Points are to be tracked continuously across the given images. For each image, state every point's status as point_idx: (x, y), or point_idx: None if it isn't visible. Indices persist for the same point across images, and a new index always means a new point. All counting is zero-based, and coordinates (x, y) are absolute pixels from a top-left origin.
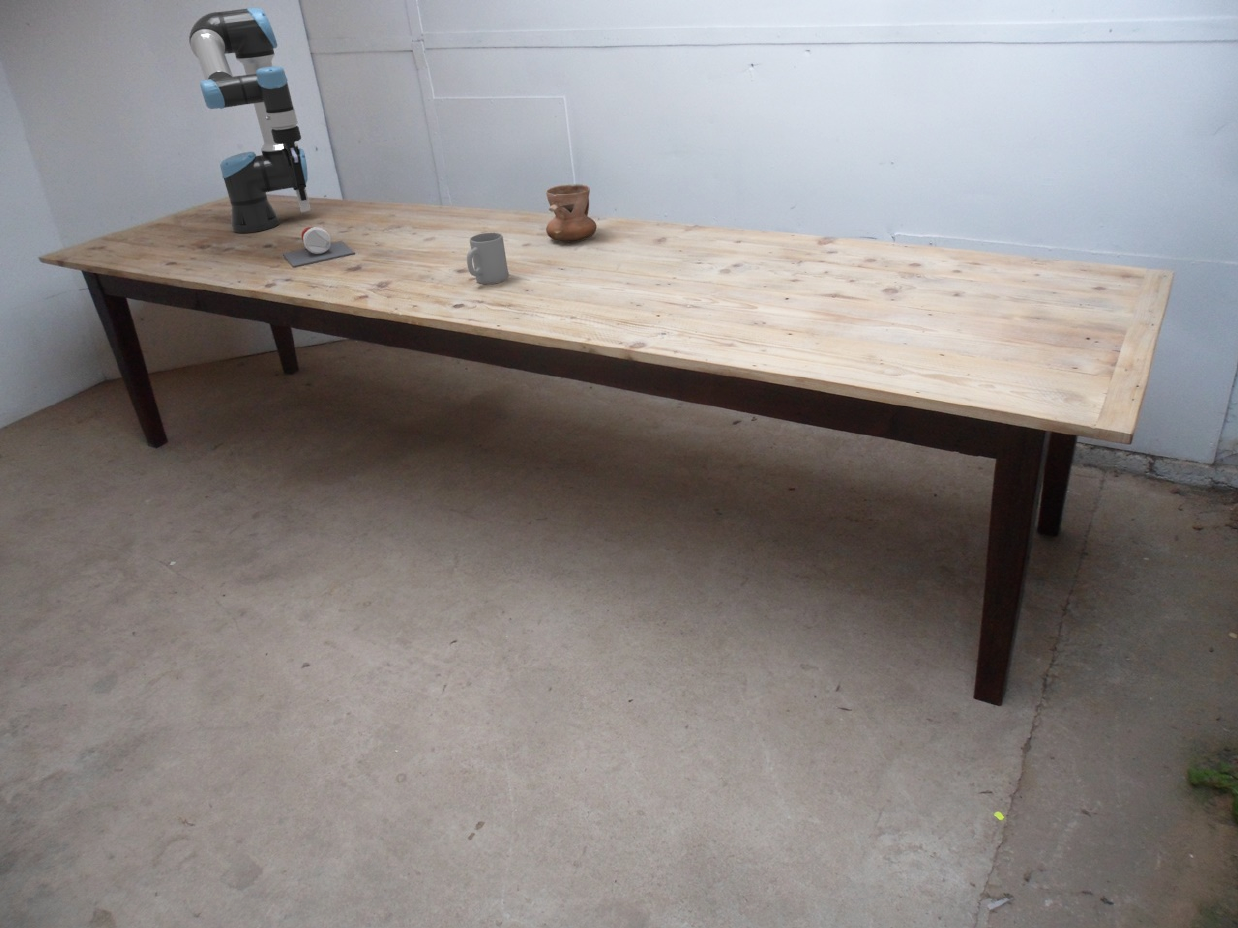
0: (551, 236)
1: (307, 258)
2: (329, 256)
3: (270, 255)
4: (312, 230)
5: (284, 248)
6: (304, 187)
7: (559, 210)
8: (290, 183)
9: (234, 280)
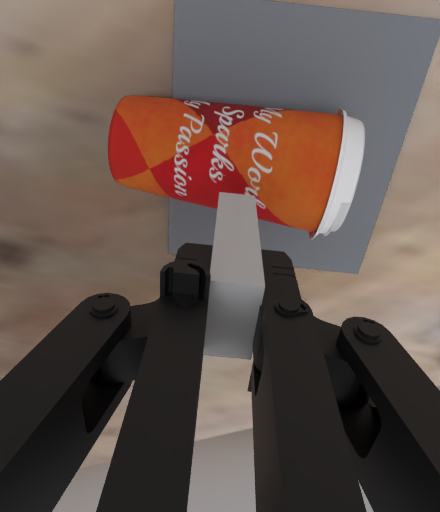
0: None
1: None
2: (380, 140)
3: (135, 278)
4: (346, 208)
5: (77, 221)
6: (305, 311)
7: None
8: None
9: None
